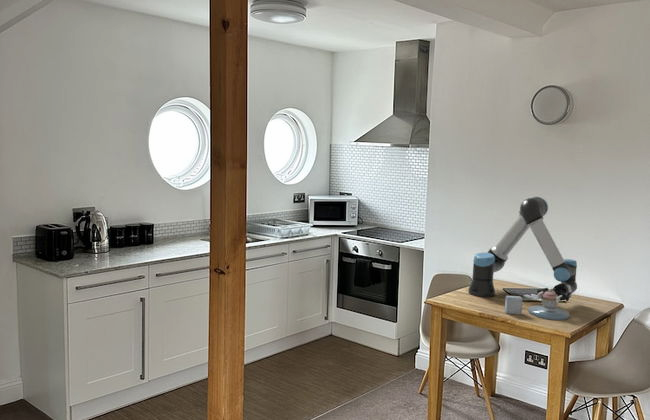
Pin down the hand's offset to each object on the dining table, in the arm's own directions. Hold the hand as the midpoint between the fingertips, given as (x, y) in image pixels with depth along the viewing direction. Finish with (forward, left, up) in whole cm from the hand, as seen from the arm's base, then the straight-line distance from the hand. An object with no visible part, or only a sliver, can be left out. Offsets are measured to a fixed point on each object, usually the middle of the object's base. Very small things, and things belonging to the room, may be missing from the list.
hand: (547, 298), depth 312 cm
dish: (+3, +4, -9) cm, 11 cm away
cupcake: (+3, +4, -6) cm, 8 cm away
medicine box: (-16, +2, -10) cm, 19 cm away
